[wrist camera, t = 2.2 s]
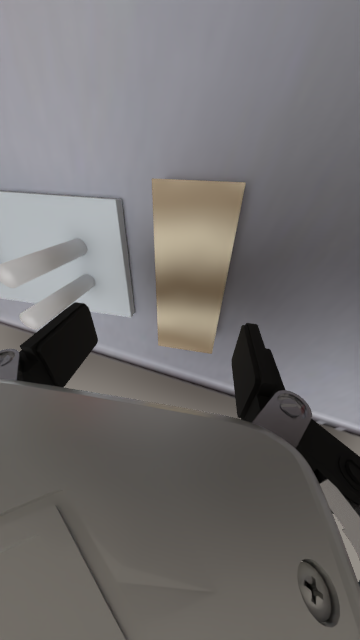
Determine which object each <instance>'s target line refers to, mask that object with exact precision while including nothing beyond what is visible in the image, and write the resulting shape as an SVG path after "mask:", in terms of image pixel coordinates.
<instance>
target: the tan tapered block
mask: <svg viewBox="0 0 360 640" xmlns="http://www.w3.org/2000/svg"><path fill="white" fill-rule="evenodd" d="M244 188H245V183H242V182H219V181H196V180H173V179H152V195H153V220H154V245H155V271H156V296H157V321H158V345H159V346H165V347H171V348H178V349H184V350H191V351H197V352H204V353H210V354H212V349H213V344H214V339H215V334H216V329H217V324H218V319H219V314H220V309H221V304H222V299H223V294H224V289H225V284H226V279H227V274H228V269H229V264H230V259H231V254H232V249H233V244H234V239H235V234H236V229H237V224H238V219H239V214H240V209H241V204H242V199H243V193H244Z"/></svg>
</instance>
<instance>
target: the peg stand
mask: <svg viewBox="0 0 360 640" xmlns="http://www.w3.org/2000/svg"><path fill="white" fill-rule="evenodd" d="M0 298H1V299H8V300H15V301H22V302H29V303H35V305H33V306H32V307H30V308H29V309H27V310H25V311H24V312H22V313H21V314H20V320H21V321H22V322H23V323H24V324H25V325H26V326H27V327H29V328H31V329H35V330H37V329H39V328H40V327H42V326H43V325H44V324H46V323H47V322H48V321H50V320H51V319H52V318H53V317H55V316H56V315H57V314H59V313H60V312H61V311H63V310H64V309H65V308H68V307H69V306H70V305H72V304H73V303H74V302H78V303H85V304H86V305H87V306H88V307H89V310H90V312H97V313H104V314H111V315H117V316H124V317H132V316H133V314H134V313H135V310H134V301H133V292H132V284H131V275H130V266H129V258H128V249H127V240H126V232H125V223H124V214H123V206H122V199H113V198H98V197H84V196H69V195H55V194H40V193H26V192H11V191H0Z"/></svg>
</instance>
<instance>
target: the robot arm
mask: <svg viewBox="0 0 360 640" xmlns="http://www.w3.org/2000/svg"><path fill="white" fill-rule="evenodd" d="M97 341H98V338H97V335H96V331H95V328H94V324H93V320H92V317H91V313H90V310H89V307H88V306H87V305H86V304H85V303H78V302H74V303H73V304H72V305H70V306H69V307H68V308H67V309H65V310H64V311H63V312H62V313H60V314H59V315H58V316H57V317H55V318H54V319H53V320H52V321H50V322H49V323H48V324H47V325H45V326H44V327H43V328H42V329H40V330H39V331H38V332H37V333H35V334H34V335H33V336H32V337H30V338H29V339H28V340H27V341H25V342H24V343H23V344H22V345H20V347H21V349H22V350H21V351H20V352H18V351H17V350H15V349H6V350H1V351H0V640H360V580H359V582H358V581H357V578H356V576H355V573H354V570H353V567H352V565H351V562H350V559H349V557H348V554H347V551H346V548H345V546H344V543H343V540H342V537H341V535H340V532H339V529H338V527H337V524H336V522H335V519H334V517H333V515H332V513H333V514H335V516H336V517H337V519H338V520H339V521H340V523H341V524H342V526H343V527H344V529H342V530H343V532H344V533H345V535H346V536H347V537H348V539H349V540H350V542H351V543H352V545H353V547H354V549H355V550H356V552H357V554H358V557H359V560H360V457H359V456H358V455H357V454H356V453H354V452H353V451H352V450H350V449H349V448H348V447H347V446H345V445H344V444H343V443H342V442H340V441H339V440H338V439H337V438H335V437H334V436H333V435H331V434H330V433H329V432H328V431H326V430H325V429H324V428H323V427H321V426H320V425H319V424H318V423H316V422H315V421H314V420H312V419H311V417H312V412H311V409H310V407H309V405H308V404H307V403H306V402H305V400H304V399H302V398H301V397H300V396H299V395H297V394H295V393H293V392H290V391H286V390H285V388H284V385H283V382H282V380H281V377H280V374H279V371H278V369H277V366H276V363H275V361H274V358H273V355H272V352H271V350H270V349H266V348H265V346H264V343H263V340H262V337H261V334H260V331H259V328H258V325H257V324H250V323H246V325H242V327H241V331H240V334H239V337H238V340H237V344H236V347H235V350H234V353H233V357H232V371H233V380H234V389H235V398H236V406H237V415H238V417H239V418H241V419H237V418H233V417H229V416H224V415H220V414H214V413H208V412H204V411H199V410H193V409H188V408H182V407H176V406H170V405H165V404H159V403H153V402H147V401H141V400H136V399H129V398H123V397H118V396H112V395H105V394H100V393H93V392H88V391H82V390H75V389H69V388H63V387H64V386H65V385H66V383H67V382H68V381H69V380H70V378H71V377H72V376H73V374H74V373H75V372H76V370H77V369H78V368H79V367H80V365H81V364H82V363H83V361H84V360H85V359H86V357H87V356H88V355H89V353H90V352H91V351H92V349H93V348H94V347H95V346H96V344H97ZM301 561H303V562H301Z"/></svg>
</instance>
